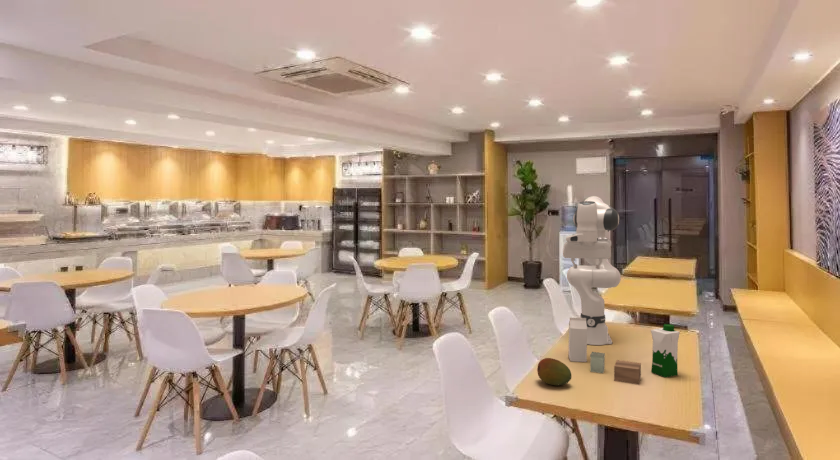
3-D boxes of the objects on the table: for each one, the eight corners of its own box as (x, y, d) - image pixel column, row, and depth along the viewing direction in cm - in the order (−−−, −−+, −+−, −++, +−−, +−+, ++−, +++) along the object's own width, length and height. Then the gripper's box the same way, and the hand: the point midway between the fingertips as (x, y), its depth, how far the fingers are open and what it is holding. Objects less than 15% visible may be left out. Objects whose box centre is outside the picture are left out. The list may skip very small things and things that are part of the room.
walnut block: (616, 374, 200) (616, 359, 200) (640, 377, 196) (640, 363, 196) (614, 381, 192) (614, 366, 192) (639, 384, 188) (639, 369, 188)
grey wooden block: (591, 368, 207) (591, 351, 207) (604, 369, 205) (604, 353, 205) (590, 371, 203) (590, 354, 202) (603, 373, 200) (603, 356, 200)
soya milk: (681, 375, 197) (682, 327, 197) (665, 378, 194) (666, 329, 193) (662, 369, 205) (663, 322, 205) (647, 372, 202) (648, 324, 201)
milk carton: (586, 362, 215) (587, 319, 214) (570, 361, 216) (570, 319, 216) (584, 357, 222) (585, 316, 221) (568, 356, 223) (568, 315, 222)
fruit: (534, 378, 194) (534, 354, 194) (566, 379, 194) (566, 354, 194) (541, 389, 183) (541, 363, 182) (574, 389, 182) (575, 363, 182)
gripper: (610, 237, 217) (609, 268, 217) (562, 237, 220) (562, 267, 221) (613, 238, 210) (612, 269, 211) (564, 237, 214) (563, 268, 214)
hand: (586, 268), depth 216 cm, fingers open, 8 cm apart
